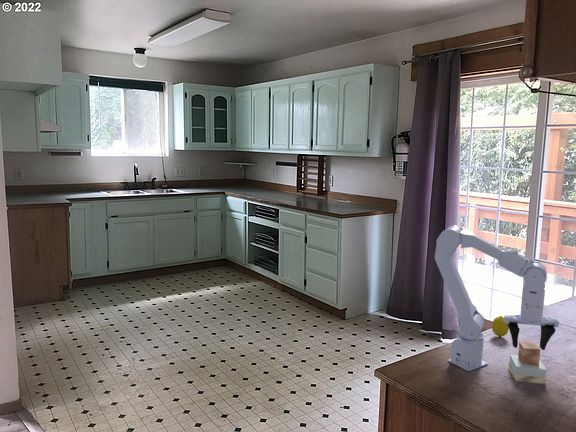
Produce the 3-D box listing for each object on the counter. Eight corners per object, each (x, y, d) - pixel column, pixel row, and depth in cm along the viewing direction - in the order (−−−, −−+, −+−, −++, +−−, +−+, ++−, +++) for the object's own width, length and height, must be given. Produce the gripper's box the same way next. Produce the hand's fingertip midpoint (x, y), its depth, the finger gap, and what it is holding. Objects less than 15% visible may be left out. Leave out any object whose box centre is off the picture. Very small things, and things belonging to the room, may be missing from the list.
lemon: (510, 340, 165) (512, 319, 164) (494, 340, 166) (496, 318, 164) (503, 334, 171) (505, 313, 170) (488, 334, 171) (490, 313, 170)
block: (522, 364, 138) (523, 348, 137) (518, 357, 142) (519, 341, 142) (539, 365, 137) (540, 349, 136) (534, 358, 141) (535, 343, 141)
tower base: (515, 382, 137) (516, 374, 137) (508, 369, 145) (508, 362, 145) (545, 385, 136) (546, 377, 135) (536, 372, 144) (536, 364, 143)
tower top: (515, 374, 137) (516, 366, 137) (509, 362, 145) (510, 354, 144) (545, 377, 135) (546, 369, 135) (537, 365, 143) (538, 357, 142)
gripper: (510, 306, 134) (506, 351, 136) (564, 310, 132) (560, 355, 134) (503, 298, 141) (499, 341, 143) (555, 302, 139) (550, 345, 141)
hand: (528, 347), depth 139 cm, fingers open, 7 cm apart
